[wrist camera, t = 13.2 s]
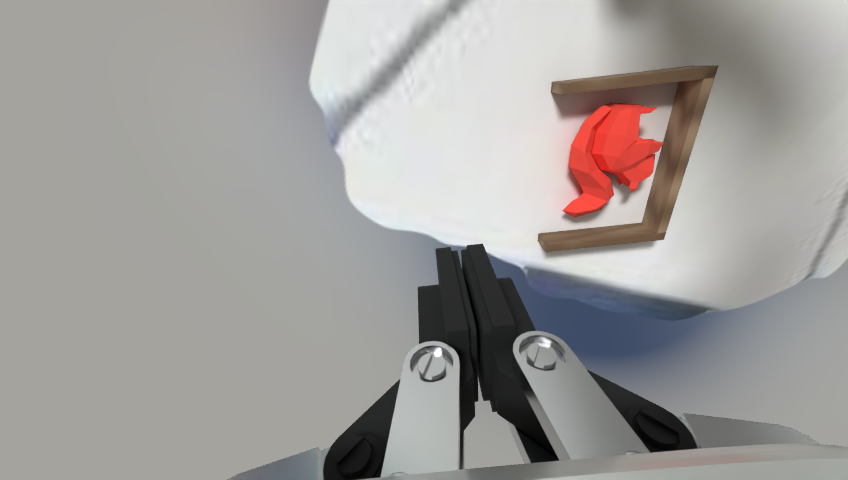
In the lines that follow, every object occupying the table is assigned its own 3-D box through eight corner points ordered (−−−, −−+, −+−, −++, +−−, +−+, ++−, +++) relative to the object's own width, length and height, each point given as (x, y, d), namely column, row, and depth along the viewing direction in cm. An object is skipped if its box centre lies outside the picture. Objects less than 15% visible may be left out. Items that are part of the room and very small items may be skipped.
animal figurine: (545, 209, 47) (559, 224, 43) (573, 101, 40) (592, 106, 35) (620, 211, 47) (641, 226, 43) (661, 105, 40) (691, 110, 36)
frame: (552, 81, 38) (564, 83, 35) (693, 65, 38) (718, 65, 35) (537, 240, 49) (546, 251, 46) (647, 228, 49) (663, 239, 46)
